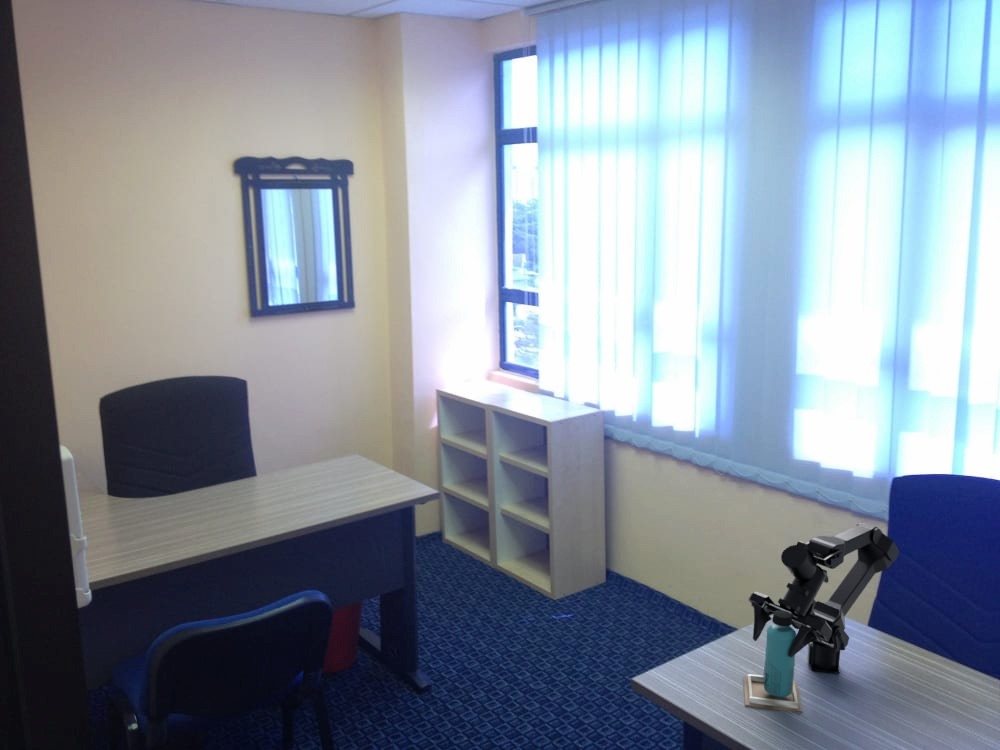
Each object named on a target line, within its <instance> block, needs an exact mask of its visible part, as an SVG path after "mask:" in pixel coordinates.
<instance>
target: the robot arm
mask: <svg viewBox="0 0 1000 750" xmlns="http://www.w3.org/2000/svg"><path fill="white" fill-rule="evenodd" d="M854 551H857V560H856V562H855V563H854V565H853V566H852V567H851V568H850V570H849V572H847V574H846V575H845V577H844V578H843V580H842V581H841V582H840V584H839V585H838V586H837V588H836V589H835V590H834V592H833V593H832V594H831V596H830V597H829V598H828V600H827V601H826V602H822V601H821V600H817V601H816V600H815V598H816V596H817V595H818V592H820V589H821V587H822V586H823V583H825V584H828V583H829V576H828V570H826V569H823V568H822V567H825V568H828V569H830V570H835V569H836V568H837V567H839V566H840V565H842V564H843V563H844V559H845V556H847V555H849V554H851V553H853V552H854ZM898 556H899V548H898V546H897V544H896V542H895V541H894V540H892V539H891V538H889V537H888V536H887V535H886V534H885V533H883V531H882V530H881V529H880V528H879V527H878V526H875V525H872V524H869V523H866V522H858V523H857V524H856V525H855V526H853V527H851V528H849V529H846V530H844V531H842V532H840V533H838V534H836V535H833V536H825V535H820V536H814V537H812V538H810V539H809V540H808V541H806V542H803V541H800V540H798V541H797V543H796V544H793V545H790V546H788V547H787V548H785V549H784V550H783V551H782V552H781V556H780V560H781V562H782V564H783V565H784V567H785V568H786V569H787V570H788V572H789V573H790V575H792V577H794V579H793V580H792V583H790V582H787V585H786V588H787V591H786V593H785V595H784V596H783V598H779V599H778V601H777V603H778V604H779V605H778V604H777V603H775V602H774V601H773V599H772V598H770V596H769V595H766V594H764V593H761V592H759V591H754V592H752V593H751V594H750V595H749V598H748V600H747V601H748V602H749V603H750V604H751V605H750V606H751V607H752V608H753V612H754V613H753V616H754V617H753V618H754V619H753V633H752V634H753V635H752V640H753V641H754V642H757V641H758V639H759V638H760V636H761V635H762V632H763V631H764V629H765V627H766V625H767V623H768V622H769V621H772V619H773V617H771V616H773V614H774V612H775V611H777V610H783V611H787V612H789V613H791V615H792V624H791V626H792V628H793V629H796V630H798V631H797V632H796V637H795V639H794V642H793V644H792V646H791V648H790V651H789V654H788V656H789V657H793V656H794V655H795V656H796V654H798V653H799V652H800V651H802V650H803V648H804V647H806V646H807V645H808V646H807V656H806V657H807V663H808V664H809V667H810V670H811V671H814V672H821V673H830V674H831V673H833V674H841V673H840V672H841V670H840V657H841V651H846V647H847V646H848V644H849V640H850V636H849V635H848V634H847V633H846V631H845V629H846V623H845V622H846V621H845V620H846V619H845V617H846V616H847V614H848V612H849V611H850V609H851V608H852V607H853V605H855V603H856V601H857V600H858V598H859V597H860V595H861V594H862V593H863V591H864V590H865V589H866V587H867V586H868V585H869V583H870V581H871V580H872V579H873V577H874V576H875V574H878V573H880V572H882V571H883V572H884V571H885V570H888V569H889V567H891V566H892V565H893V563H894V562H895V561H896V560H897V559H898ZM821 566H822V567H821Z"/></svg>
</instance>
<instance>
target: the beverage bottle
mask: <svg viewBox="0 0 1000 750" xmlns="http://www.w3.org/2000/svg"><path fill="white" fill-rule="evenodd" d="M771 621H772V623H773V624H772V625H770V626H769V627H768V628H767V629H766V642H765V650H764V651H765V653H764V654H765V659H764V663H763V664H764V669H763V676H764V677H763V683H764V689H765V691H766V692H767V693H769V694H771V695H774V696H778V697H786V696H789V695H790V694H791V693H792V690H793V680H794V681H795V678H794V677H795V670H796V669H795V665H796V664H795V662H796V660H795V657H796V654H795V655H794V656H793V657H789V656H788V654H789V651H790V648H791V646H792V644H793V642H794V639H795V637H796V635H797V631H795V628H793V627H791V626H792V615H791V613H789V612H787V611H783V610H777V611H775V612H774V614H772V619H771Z"/></svg>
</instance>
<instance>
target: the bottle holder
mask: <svg viewBox="0 0 1000 750" xmlns="http://www.w3.org/2000/svg"><path fill="white" fill-rule="evenodd" d="M763 677H764V675H759V674H750V673H747V676H743V677H742V679H743V680H742V681H743V693H744V706H745V707H749V708H758V709H764V710H765V708H766V710H773V711H782V712H788V713H789V712H790V713H797V714H798V713H799V714H803V707H802V702H801V697H800V691H799V684H798V682H796V681H795V679H794V680H793V690H792V693H791V694H790V695H789V696H786V697H778V696H774V695H771V694H769V693H767V692H766V691H765V689H764V683H763Z"/></svg>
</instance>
